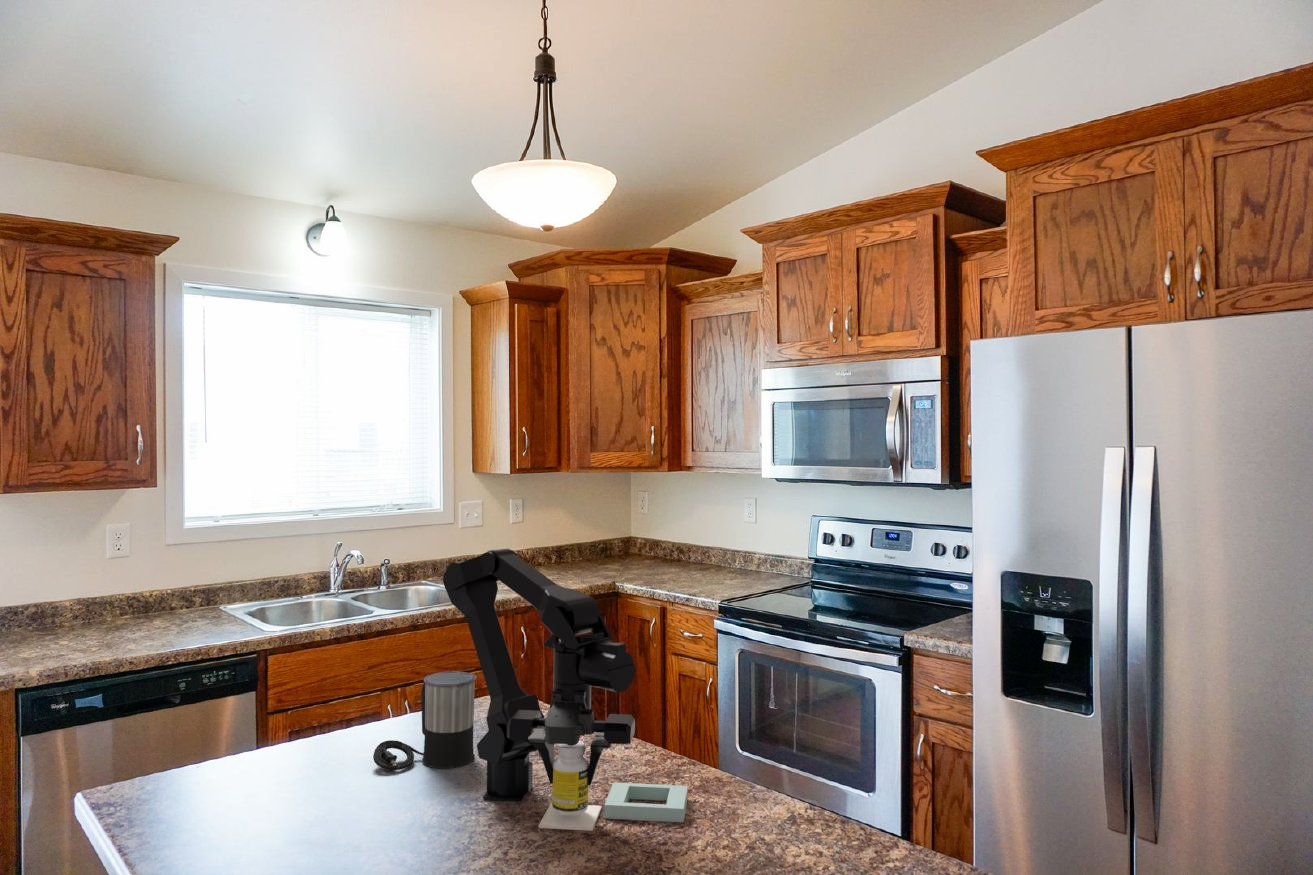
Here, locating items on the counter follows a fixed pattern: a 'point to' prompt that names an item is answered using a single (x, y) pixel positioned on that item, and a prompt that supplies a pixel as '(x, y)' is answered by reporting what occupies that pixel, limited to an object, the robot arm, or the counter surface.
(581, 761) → the supplement bottle
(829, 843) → the counter surface
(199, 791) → the counter surface
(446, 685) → the milk frother
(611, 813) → the holder block
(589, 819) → the white square tile
